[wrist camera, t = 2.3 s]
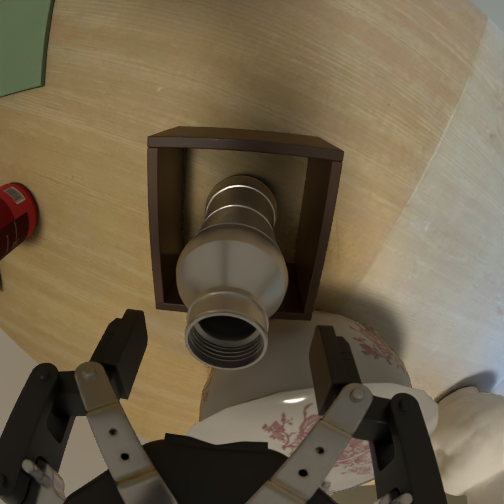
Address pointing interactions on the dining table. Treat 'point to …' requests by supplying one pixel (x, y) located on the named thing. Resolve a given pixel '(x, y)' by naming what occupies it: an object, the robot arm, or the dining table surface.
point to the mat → (23, 44)
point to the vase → (471, 445)
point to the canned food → (15, 216)
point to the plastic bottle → (232, 275)
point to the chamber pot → (301, 394)
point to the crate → (316, 149)
